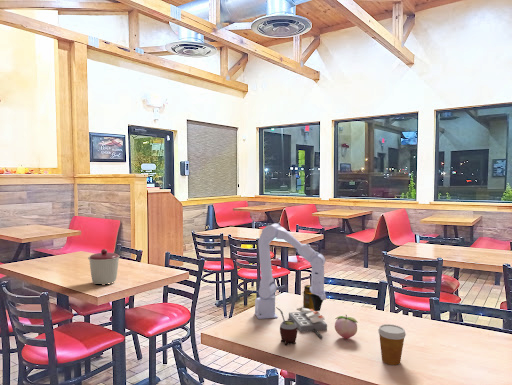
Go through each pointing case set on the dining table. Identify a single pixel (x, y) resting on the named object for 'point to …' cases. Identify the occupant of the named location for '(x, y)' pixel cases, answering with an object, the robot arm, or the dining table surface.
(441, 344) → the dining table surface
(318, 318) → the rocker near camera
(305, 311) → the rocker near arm
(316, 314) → the rocker middle
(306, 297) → the condiment
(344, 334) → the decorative fruit
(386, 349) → the disposable coffee cup
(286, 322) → the mate gourd
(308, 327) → the rocker switch panel
